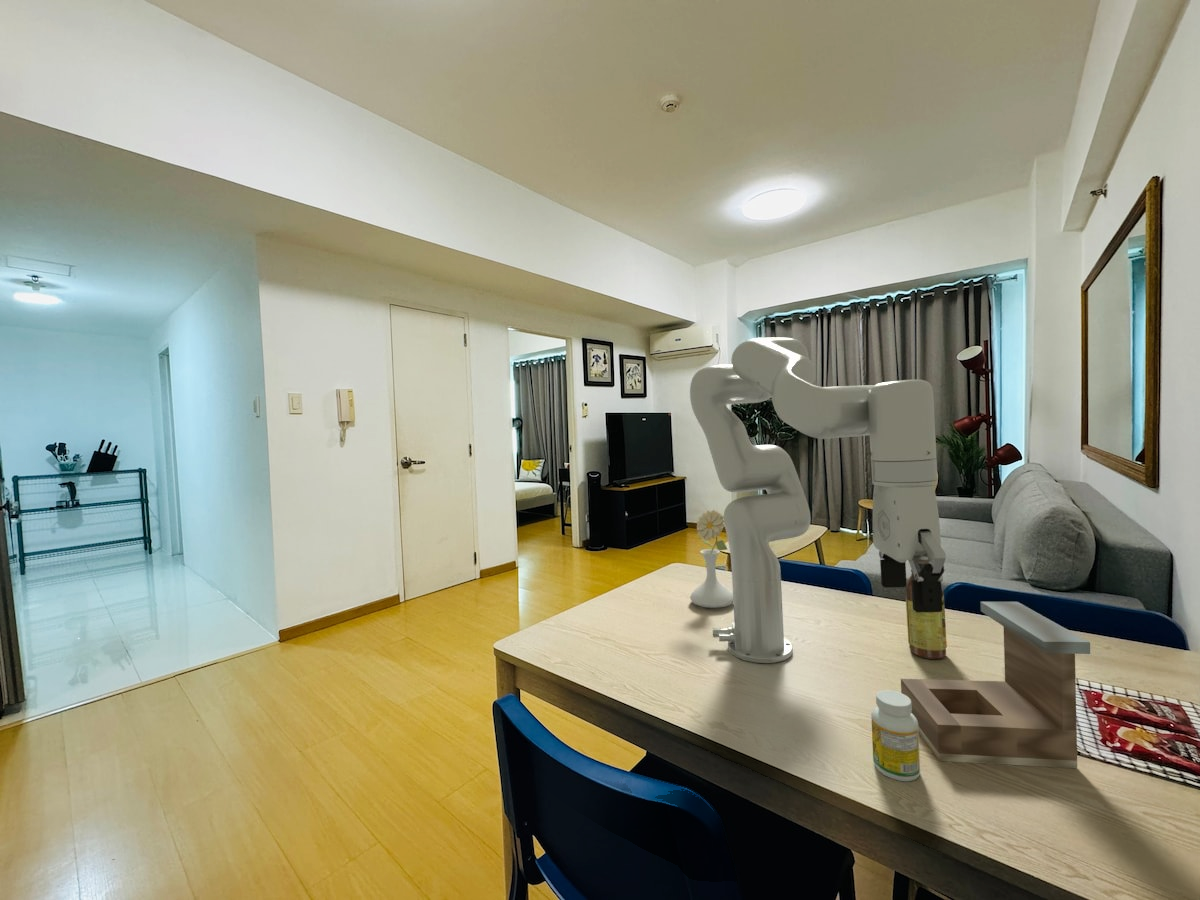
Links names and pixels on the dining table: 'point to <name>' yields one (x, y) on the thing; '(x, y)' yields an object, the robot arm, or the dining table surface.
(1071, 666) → the socket block
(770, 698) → the dining table surface
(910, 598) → the sauce bottle
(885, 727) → the supplement bottle
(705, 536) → the flower in vase
